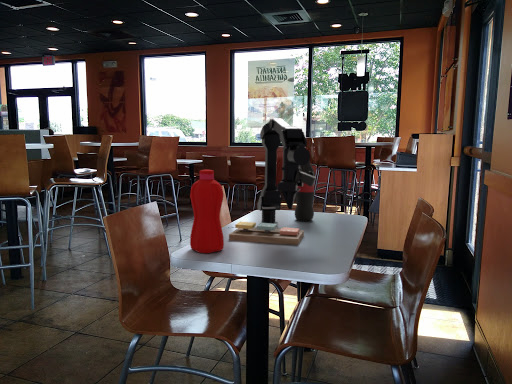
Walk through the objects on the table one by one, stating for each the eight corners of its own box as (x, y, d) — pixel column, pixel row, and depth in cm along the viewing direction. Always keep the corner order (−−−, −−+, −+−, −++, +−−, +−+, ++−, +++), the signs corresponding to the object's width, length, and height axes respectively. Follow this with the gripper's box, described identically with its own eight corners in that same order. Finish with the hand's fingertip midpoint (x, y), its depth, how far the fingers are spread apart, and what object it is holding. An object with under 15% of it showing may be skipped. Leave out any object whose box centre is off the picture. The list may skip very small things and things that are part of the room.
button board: (240, 231, 148) (240, 226, 148) (303, 235, 142) (303, 230, 142) (228, 239, 134) (228, 234, 134) (297, 245, 128) (298, 239, 128)
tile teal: (261, 230, 142) (261, 222, 141) (277, 232, 140) (277, 223, 140) (257, 234, 136) (257, 225, 136) (273, 235, 134) (274, 226, 134)
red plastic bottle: (208, 243, 129) (208, 168, 126) (227, 250, 120) (228, 170, 118) (183, 248, 123) (182, 169, 120) (202, 255, 115) (201, 170, 112)
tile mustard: (240, 229, 144) (240, 221, 143) (255, 230, 142) (255, 222, 142) (235, 232, 138) (235, 224, 138) (251, 234, 136) (251, 225, 136)
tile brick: (282, 235, 140) (282, 227, 139) (299, 236, 138) (299, 228, 138) (279, 239, 134) (279, 230, 134) (296, 240, 133) (297, 231, 132)
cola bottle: (305, 218, 179) (307, 152, 175) (317, 221, 171) (319, 152, 168) (290, 219, 174) (292, 152, 171) (302, 222, 167) (304, 152, 164)
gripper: (311, 165, 122) (310, 214, 124) (317, 163, 140) (316, 206, 142) (276, 164, 125) (276, 213, 127) (287, 163, 143) (286, 205, 145)
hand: (290, 209), depth 135 cm, fingers closed
